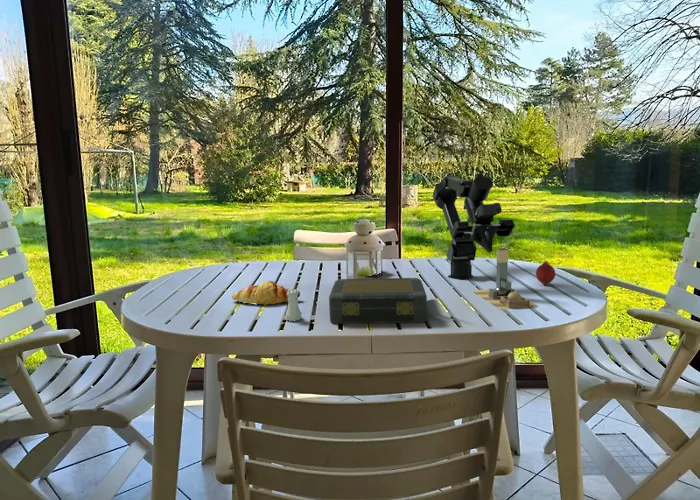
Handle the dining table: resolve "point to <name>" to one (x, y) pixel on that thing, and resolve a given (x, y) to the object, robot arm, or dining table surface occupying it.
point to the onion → (545, 273)
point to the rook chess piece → (293, 306)
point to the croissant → (263, 294)
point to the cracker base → (503, 299)
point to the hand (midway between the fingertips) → (490, 251)
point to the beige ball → (514, 296)
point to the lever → (502, 273)
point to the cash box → (378, 301)
